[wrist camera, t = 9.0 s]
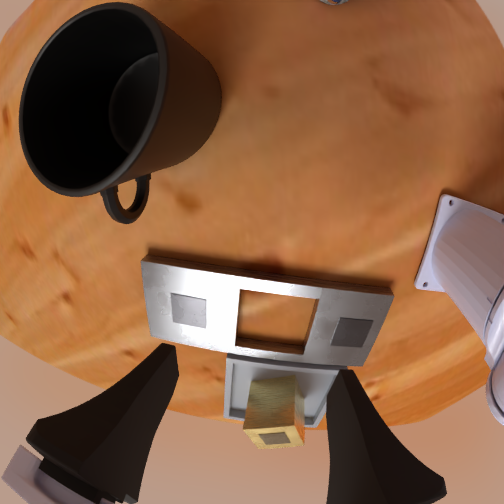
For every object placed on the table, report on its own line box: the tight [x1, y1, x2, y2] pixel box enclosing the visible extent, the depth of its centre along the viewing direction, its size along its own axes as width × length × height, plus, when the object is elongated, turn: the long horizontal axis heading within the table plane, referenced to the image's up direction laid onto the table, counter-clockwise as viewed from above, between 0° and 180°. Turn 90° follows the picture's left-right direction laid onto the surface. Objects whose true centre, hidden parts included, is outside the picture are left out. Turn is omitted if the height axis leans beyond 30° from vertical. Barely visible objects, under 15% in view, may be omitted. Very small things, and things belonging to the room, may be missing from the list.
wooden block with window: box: [243, 375, 305, 449], centre depth 23 cm, size 5×5×6 cm
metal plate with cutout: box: [141, 254, 394, 366], centre depth 22 cm, size 20×8×1 cm, turn 84°
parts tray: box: [224, 353, 348, 427], centre depth 25 cm, size 11×11×2 cm
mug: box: [19, 2, 222, 224], centre depth 13 cm, size 9×12×9 cm
